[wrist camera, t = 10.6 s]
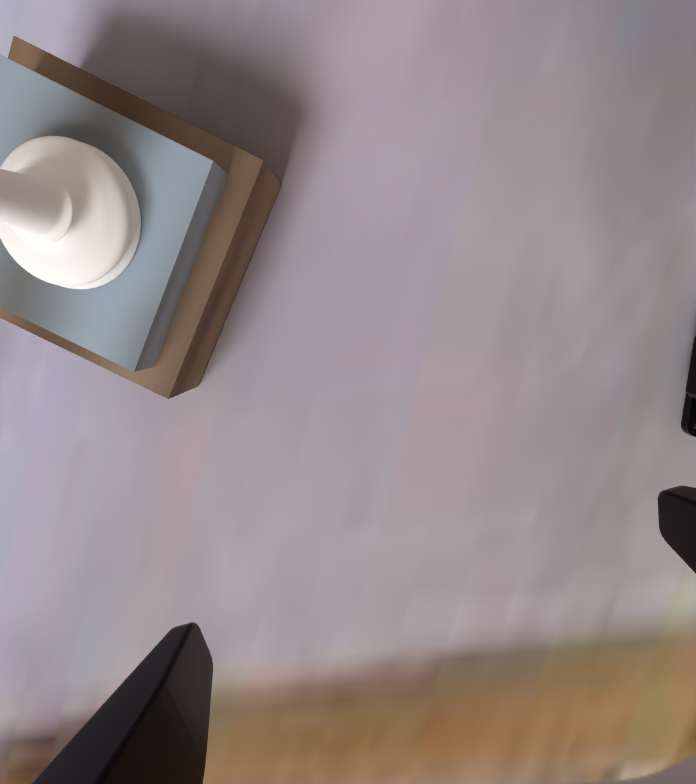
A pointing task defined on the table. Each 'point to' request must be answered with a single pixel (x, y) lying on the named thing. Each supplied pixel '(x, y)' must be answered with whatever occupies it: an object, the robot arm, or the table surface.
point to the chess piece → (67, 212)
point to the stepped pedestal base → (158, 226)
